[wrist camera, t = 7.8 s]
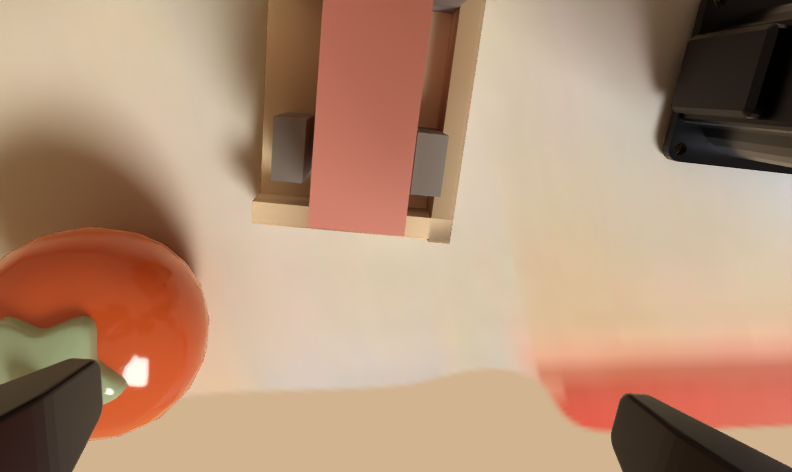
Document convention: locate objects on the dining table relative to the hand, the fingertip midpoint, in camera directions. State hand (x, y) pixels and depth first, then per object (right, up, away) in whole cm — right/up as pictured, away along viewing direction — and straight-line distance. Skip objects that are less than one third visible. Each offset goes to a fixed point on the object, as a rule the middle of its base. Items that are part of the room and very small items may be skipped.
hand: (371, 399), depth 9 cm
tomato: (-10, +1, +12) cm, 16 cm away
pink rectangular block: (0, +9, +9) cm, 13 cm away
